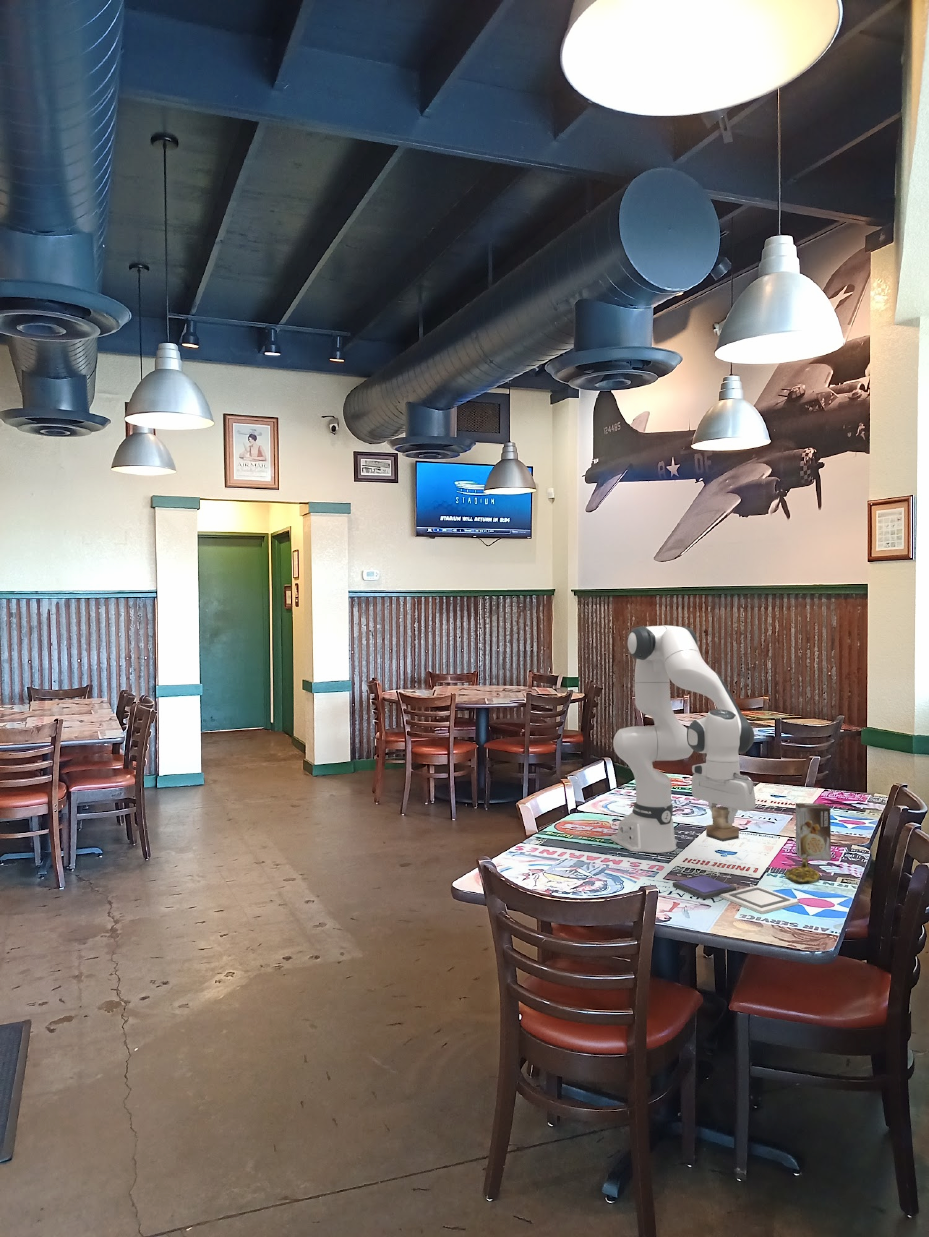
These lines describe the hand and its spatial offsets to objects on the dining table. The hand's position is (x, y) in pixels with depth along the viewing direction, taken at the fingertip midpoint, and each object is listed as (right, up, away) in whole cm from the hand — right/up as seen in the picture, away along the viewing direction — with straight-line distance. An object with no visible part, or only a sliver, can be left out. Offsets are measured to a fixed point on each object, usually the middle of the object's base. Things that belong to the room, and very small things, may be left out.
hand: (722, 821), depth 237 cm
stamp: (0, -5, 0) cm, 5 cm away
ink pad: (-4, -20, +4) cm, 21 cm away
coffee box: (+37, -19, +33) cm, 53 cm away
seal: (+27, -20, +14) cm, 37 cm away
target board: (+8, -20, -5) cm, 22 cm away
